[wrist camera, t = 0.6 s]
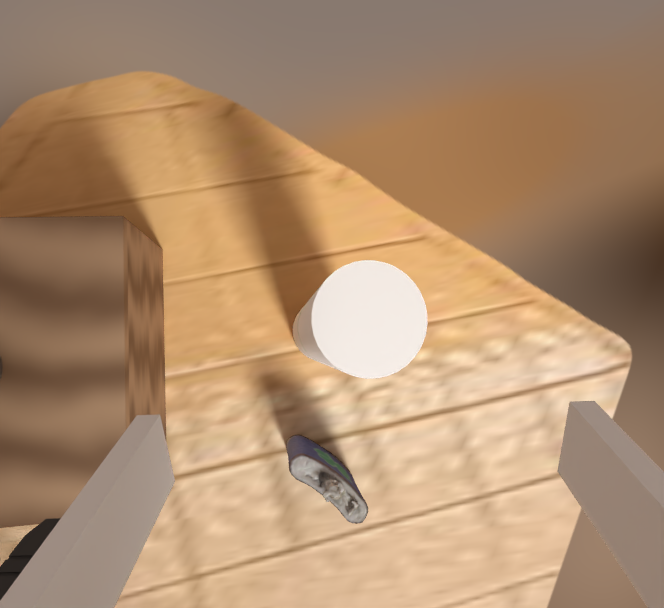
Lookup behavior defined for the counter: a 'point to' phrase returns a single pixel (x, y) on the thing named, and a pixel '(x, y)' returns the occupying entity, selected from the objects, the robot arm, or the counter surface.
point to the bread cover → (73, 353)
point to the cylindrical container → (363, 320)
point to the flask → (326, 477)
